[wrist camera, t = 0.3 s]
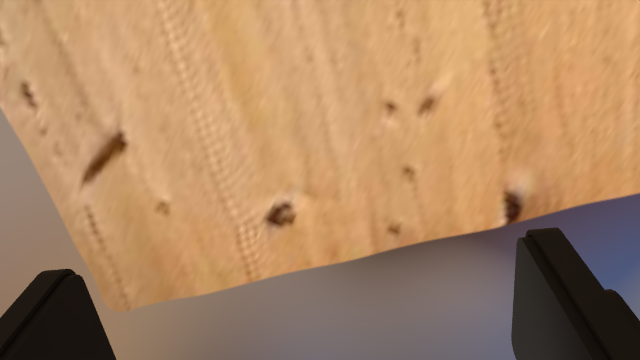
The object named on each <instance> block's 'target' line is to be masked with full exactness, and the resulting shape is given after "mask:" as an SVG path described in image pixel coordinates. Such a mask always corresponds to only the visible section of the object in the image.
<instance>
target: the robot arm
mask: <svg viewBox="0 0 640 360" xmlns="http://www.w3.org/2000/svg"><path fill="white" fill-rule="evenodd" d="M511 337H512V346H513V351H514V354H515V357H516V359H517V360H640V321H639V319H638V318H637V317H636V315H635V314H634V313H633V312H632V310H631V309H630V308H629V306H628V305H627V304H626V302H625V301H624V300H623V298H622V297H621V296H620V295H619V294H618V293H617V292H616V291H613V290H611V289H608V290H604V288H603V287H602V286H601V284H600V283H599V282H598V280H597V279H596V278H595V276H594V275H593V274H592V272H591V271H590V270H589V268H588V267H587V265H586V264H585V263H584V261H583V260H582V259H581V257H580V256H579V254H578V253H577V252H576V250H575V249H574V248H573V246H572V245H571V244H570V242H569V241H568V240H567V238H566V237H565V236H564V234H563V233H562V231H561V230H560V229H559V228H544V229H533V230H528V231H527V233H526V237H523V238H518V240H517V248H516V267H515V282H514V301H513V318H512V336H511ZM0 360H116V357H115V355H114V353H113V350H112V348H111V345H110V343H109V341H108V338H107V336H106V333H105V331H104V328H103V326H102V324H101V321H100V318H99V316H98V314H97V311H96V309H95V306H94V304H93V301H92V299H91V297H90V294H89V292H88V289H87V287H86V284H85V282H84V280H83V278H82V277H81V276H80V275H76V274H75V272H74V271H73V270H71V269H60V270H48V271H43V272H41V273H40V274H38V275H37V277H36V278H35V279H34V280H33V281H32V282H31V283H30V285H29V286H28V287H27V288H26V289H25V290H24V292H23V293H22V294H21V295H20V296H19V297H18V298H17V299H16V301H15V302H14V303H13V304H12V305H11V306H10V307H9V309H8V310H7V311H6V312H5V313H4V314H3V316H2V317H1V318H0Z"/></svg>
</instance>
